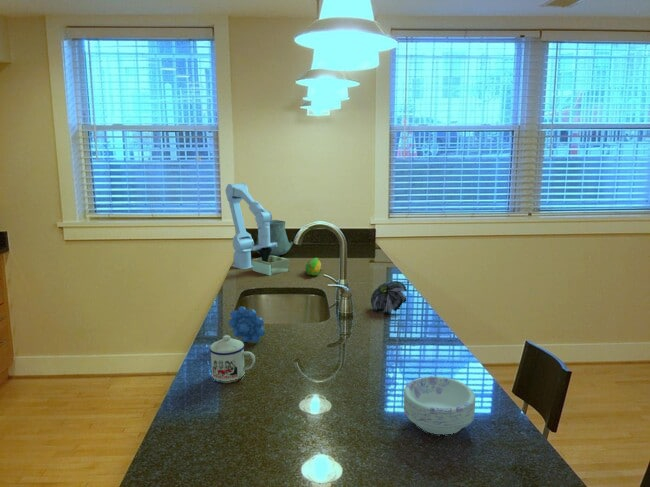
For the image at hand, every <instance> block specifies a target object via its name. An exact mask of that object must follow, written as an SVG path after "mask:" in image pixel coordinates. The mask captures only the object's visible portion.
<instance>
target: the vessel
mask: <svg viewBox="0 0 650 487" xmlns="http://www.w3.org/2000/svg"><path fill="white" fill-rule="evenodd" d="M256 237H257V238H256V239H257V241H256V243H255V245H258V244H259V238H258V235H257V236H256ZM274 242H276V243H277V247H270V248H271V249H272V251H271V252H270V255H269V256H277V257H280V256H283V255H285V254H287V253H288V252H289V250H290V249H291V247H292V246H293V241H289V239H288V236H287V232H286V221H284V220H279V219H272V220H271V222H270V243H274ZM255 251H256V252H257V253H258V254H259V255H260V253H259V251H258V250H255Z"/></svg>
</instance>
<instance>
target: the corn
mask: <svg viewBox="0 0 650 487" xmlns="http://www.w3.org/2000/svg"><path fill="white" fill-rule="evenodd" d="M321 268H322V263H321V261H320V260H319V258H318V257H315V258H312V259H311V261H310V260H309V261H308V262H307V263H306V264H305V268H304V269H305V272H306V274H307V275H308V276H317V275H319V274H320V273H321V271H322V269H321Z"/></svg>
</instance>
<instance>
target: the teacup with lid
mask: <svg viewBox="0 0 650 487" xmlns="http://www.w3.org/2000/svg"><path fill="white" fill-rule="evenodd" d="M209 351H210V360H211V362H210V363H211V377H212V376H213V378H214V379H217V380H221V381H230V380H235V379H238V378H241V377H242V376H243V375H244V374H245V372H246V370H250V369H251V368H253V367H254V365H255V363H256V356H255V354H254V353H253V352H251V351H248V350H247V351H245V343H244V341H243V340H242V341H241V340H239V339H236V338H231V336H230V335H229V334H225V335H223V336H222V339H220V340H217V341H214V342H213V343H212V344H210V347H209ZM245 356H249V357H251V363H250V365H245ZM244 376H245V375H244ZM213 378H212V379H213Z"/></svg>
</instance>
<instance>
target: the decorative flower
mask: <svg viewBox="0 0 650 487" xmlns="http://www.w3.org/2000/svg"><path fill="white" fill-rule="evenodd" d="M407 291H408V290H407V287H406V285H405V284H404V283H403V282H401V281H397V280H392V281H387V282H384V283H381V284H380V285H379V286H378V287H377V288H376V289H375V290H374V291H373V293H372V294H371V297H370V304H371V305H370V306H371V308H372V311H373V312H374V313H383V314H384V316H390V315H391V314H392V311H394V312H397V310H400V308H401V307H402V304H404V303H406V302H407V296H406V295H405V294H404V293H403V292H407Z"/></svg>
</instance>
